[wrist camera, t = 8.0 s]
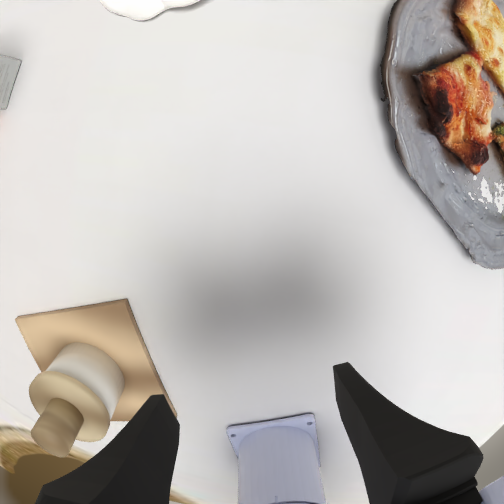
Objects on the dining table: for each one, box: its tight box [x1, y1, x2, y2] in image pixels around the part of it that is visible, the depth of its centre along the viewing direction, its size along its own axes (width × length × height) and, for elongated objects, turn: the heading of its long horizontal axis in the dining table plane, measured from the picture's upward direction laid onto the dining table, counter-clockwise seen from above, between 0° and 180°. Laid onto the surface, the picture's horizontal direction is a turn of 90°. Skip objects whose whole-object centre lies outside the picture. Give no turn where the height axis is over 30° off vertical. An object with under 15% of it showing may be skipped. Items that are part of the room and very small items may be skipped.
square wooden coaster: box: [15, 299, 177, 421], centre depth 24 cm, size 12×12×1 cm
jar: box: [46, 342, 125, 420], centre depth 22 cm, size 6×6×4 cm
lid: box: [29, 371, 110, 457], centre depth 18 cm, size 7×7×4 cm
